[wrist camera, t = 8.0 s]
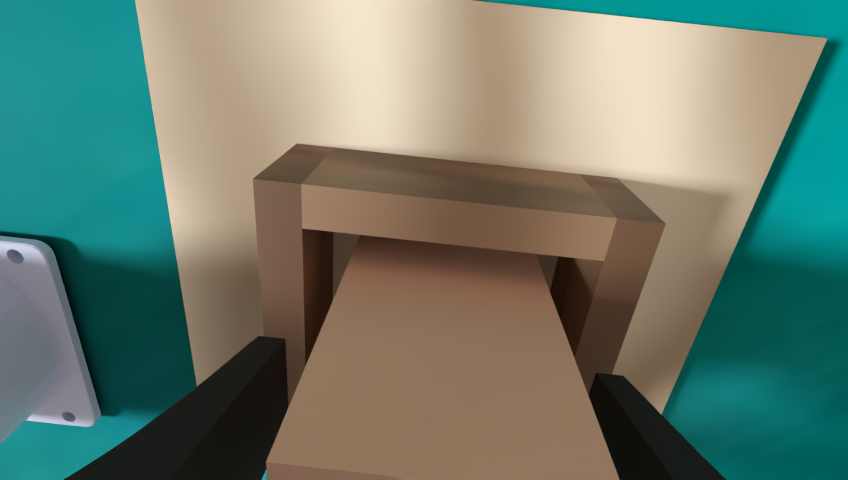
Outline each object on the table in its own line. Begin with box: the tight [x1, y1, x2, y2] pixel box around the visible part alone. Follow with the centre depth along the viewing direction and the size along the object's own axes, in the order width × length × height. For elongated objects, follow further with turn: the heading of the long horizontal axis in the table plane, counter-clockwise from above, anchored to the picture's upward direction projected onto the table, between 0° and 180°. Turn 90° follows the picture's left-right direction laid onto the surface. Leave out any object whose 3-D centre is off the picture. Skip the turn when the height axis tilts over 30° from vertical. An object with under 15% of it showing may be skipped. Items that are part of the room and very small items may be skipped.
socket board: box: [135, 0, 827, 414], centre depth 13 cm, size 16×16×4 cm
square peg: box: [266, 235, 619, 480], centre depth 10 cm, size 4×4×8 cm
